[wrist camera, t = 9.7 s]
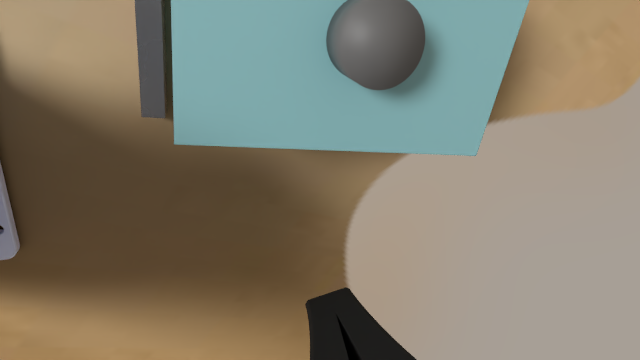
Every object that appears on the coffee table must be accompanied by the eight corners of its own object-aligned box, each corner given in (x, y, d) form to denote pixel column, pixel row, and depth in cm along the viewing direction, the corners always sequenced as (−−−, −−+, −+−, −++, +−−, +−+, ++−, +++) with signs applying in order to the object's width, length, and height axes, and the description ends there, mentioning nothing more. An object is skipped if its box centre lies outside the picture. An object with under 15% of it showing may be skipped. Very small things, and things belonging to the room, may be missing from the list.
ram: (394, 105, 17) (501, 171, 11) (185, 88, 14) (170, 164, 8) (428, -45, 15) (593, -72, 8) (183, -100, 12) (159, -198, 6)
